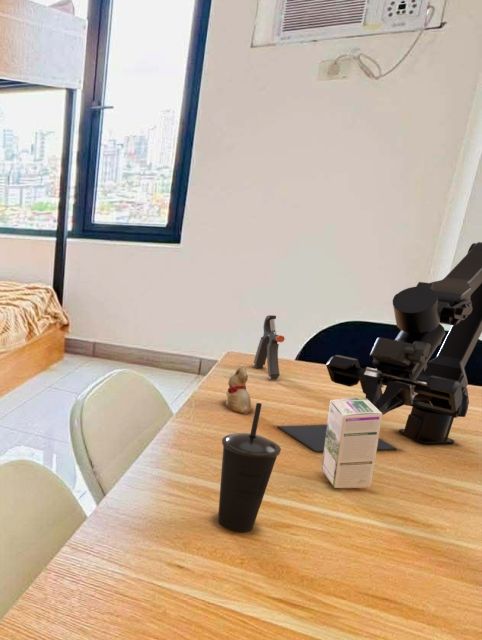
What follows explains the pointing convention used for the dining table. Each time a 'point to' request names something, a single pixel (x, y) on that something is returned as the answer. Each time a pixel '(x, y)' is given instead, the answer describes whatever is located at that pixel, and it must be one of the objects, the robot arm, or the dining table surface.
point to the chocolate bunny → (238, 392)
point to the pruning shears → (269, 348)
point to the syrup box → (351, 442)
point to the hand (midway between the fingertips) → (365, 420)
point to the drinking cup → (245, 476)
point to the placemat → (318, 437)
